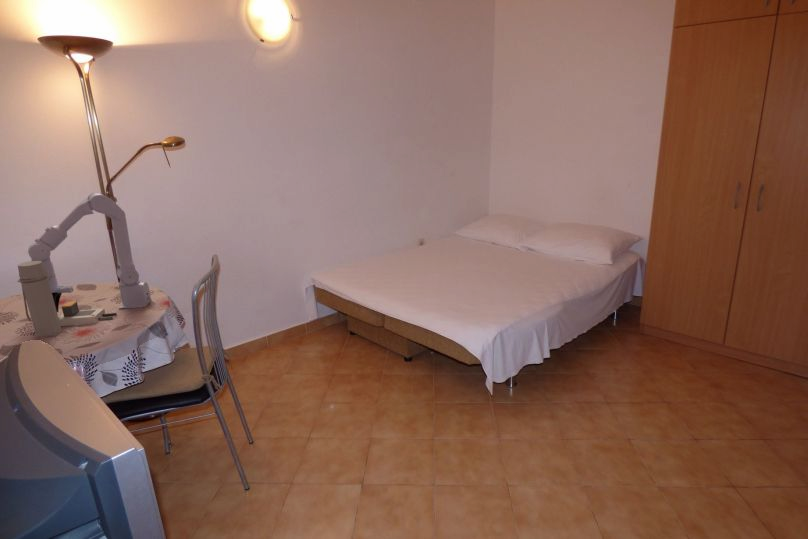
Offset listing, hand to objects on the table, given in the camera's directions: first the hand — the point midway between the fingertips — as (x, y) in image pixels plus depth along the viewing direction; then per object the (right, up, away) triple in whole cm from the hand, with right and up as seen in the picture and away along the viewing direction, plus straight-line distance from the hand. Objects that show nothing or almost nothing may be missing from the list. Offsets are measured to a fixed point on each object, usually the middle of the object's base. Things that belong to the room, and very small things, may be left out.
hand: (55, 312), depth 174 cm
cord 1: (+17, -3, +2) cm, 17 cm away
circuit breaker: (+8, -3, +2) cm, 9 cm away
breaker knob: (+5, 0, +1) cm, 5 cm away
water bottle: (+4, -7, -9) cm, 12 cm away
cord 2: (+16, -2, +5) cm, 17 cm away
